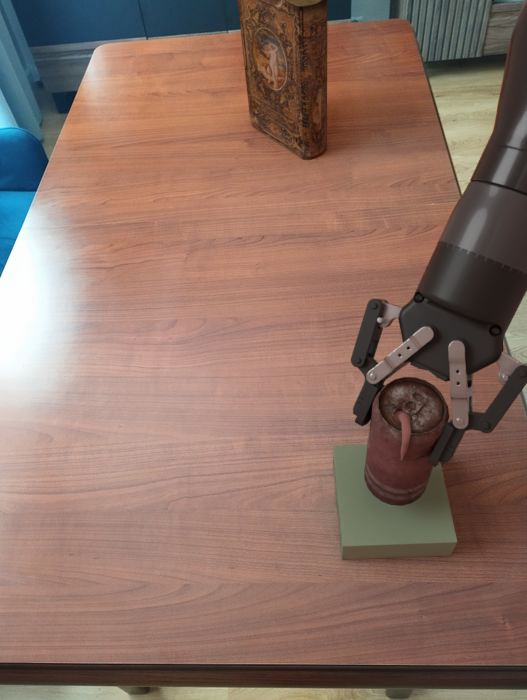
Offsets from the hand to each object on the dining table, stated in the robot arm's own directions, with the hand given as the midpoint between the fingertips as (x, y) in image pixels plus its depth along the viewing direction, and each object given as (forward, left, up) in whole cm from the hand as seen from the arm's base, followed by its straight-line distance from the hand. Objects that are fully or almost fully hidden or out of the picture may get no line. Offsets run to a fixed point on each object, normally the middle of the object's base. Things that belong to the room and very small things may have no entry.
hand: (396, 442), depth 49 cm
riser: (-1, -1, -17) cm, 17 cm away
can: (-1, -1, -11) cm, 11 cm away
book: (+7, -72, -17) cm, 75 cm away
